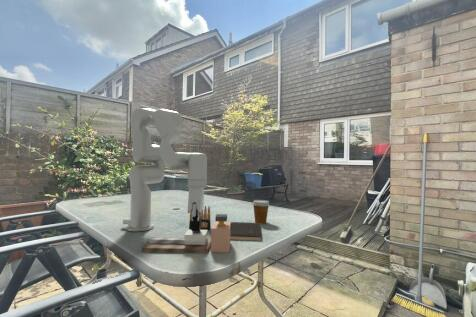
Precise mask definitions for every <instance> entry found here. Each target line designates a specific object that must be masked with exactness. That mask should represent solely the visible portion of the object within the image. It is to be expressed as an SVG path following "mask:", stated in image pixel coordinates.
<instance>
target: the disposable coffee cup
mask: <svg viewBox="0 0 476 317" xmlns="http://www.w3.org/2000/svg"><path fill="white" fill-rule="evenodd" d="M252 206H253V214H254V223H263V224H266V223H267V220H268V212H269V206H270V201H269V200H266V199H254V200H253V202H252Z"/></svg>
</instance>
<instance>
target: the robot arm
mask: <svg viewBox="0 0 476 317" xmlns="http://www.w3.org/2000/svg"><path fill="white" fill-rule="evenodd" d="M182 116H183V115H181V114H180V113H179V112H178V111H174V110H169V109H165V108H159V109H156V110H155V109H152V108H146V107H137V108H135V109H133V111H132V112H131V115H130V119H129V120H130V121H129V122H130V128H131V133H132V159H133V161H134V162H135V163H142V164H141V165H135V166H132V167H130V169H129V172H128V179H129V183H130V184H129V185H130V214H129V216H130V218H129V219H122V225H127V226H126V231H128V232H136V233H137V232H138V233H139V232H146V231H150V230H153V229H154V226H155V224H154V223H151V218H152V216H151V215H152V214H151V213H152V191H151V189H150V188H149V186H148V185H149V184H151V185H152V184H158V183H159V184H160V183H161V182H163V180H164V179H165V172H166V171H165V169H166V168H167V169H168V170H169V171H175V172H176V171H187V188H189V191H188V198H187V199H188V200H187V213H188V214H190V212H191V211H192V221H191V231H199V230H200V228H201V224H200V221H199V214H201V211H202V210H203V211H204V207H205V206H204V201H205V190H204V189H205V188H207V183H208V182H207V181H208V179H207V178H208V169H207V168H208V156H207V154H206V153H202V152H183V151H182V152H181V151H175V150H174V149H173V147H172V145H173V144H174V143H176V142H178V140H180V139H181V135H182V134H181V131H180V128H181V127H183V122H184V121H183V117H182ZM147 127H151V128H156V130H157V132H158V134H159V136H160V138H161V141H160V144H152V142H151V141H152V137H151V132H150V131H149V129H148V128H147ZM143 163H146V165H145V164H144V165H143ZM148 163H149V164H150V165H148ZM165 167H166V168H165Z"/></svg>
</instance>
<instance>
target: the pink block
mask: <svg viewBox="0 0 476 317" xmlns="http://www.w3.org/2000/svg"><path fill="white" fill-rule="evenodd" d="M231 222H232V221H227V222H225V221H224V226H219V221H213V223H212V224H211V225H212V226H211V230H210V239H211V245H210V253H230V249H231V248H230V246H231V239H230V225H231Z"/></svg>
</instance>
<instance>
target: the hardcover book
mask: <svg viewBox="0 0 476 317" xmlns="http://www.w3.org/2000/svg"><path fill="white" fill-rule="evenodd" d="M230 222H231V225H230V240H235V241H236V240H238V241H239V240H240V241H261V238H262V231H261V224H260V223H256V222H243V221H242V222H241V221H240V222H239V221H238V222H237V221H230Z"/></svg>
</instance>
